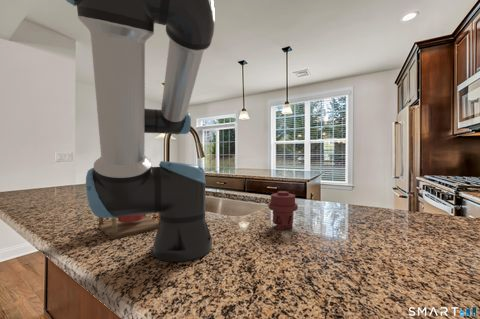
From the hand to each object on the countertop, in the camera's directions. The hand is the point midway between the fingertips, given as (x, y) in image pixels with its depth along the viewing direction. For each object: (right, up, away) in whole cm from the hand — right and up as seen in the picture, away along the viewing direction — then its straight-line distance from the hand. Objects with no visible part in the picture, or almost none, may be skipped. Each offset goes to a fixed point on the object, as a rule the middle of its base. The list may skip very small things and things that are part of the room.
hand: (130, 215), depth 78 cm
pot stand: (0, -4, 0) cm, 4 cm away
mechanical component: (+53, -4, 0) cm, 53 cm away
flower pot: (0, -2, 0) cm, 2 cm away
